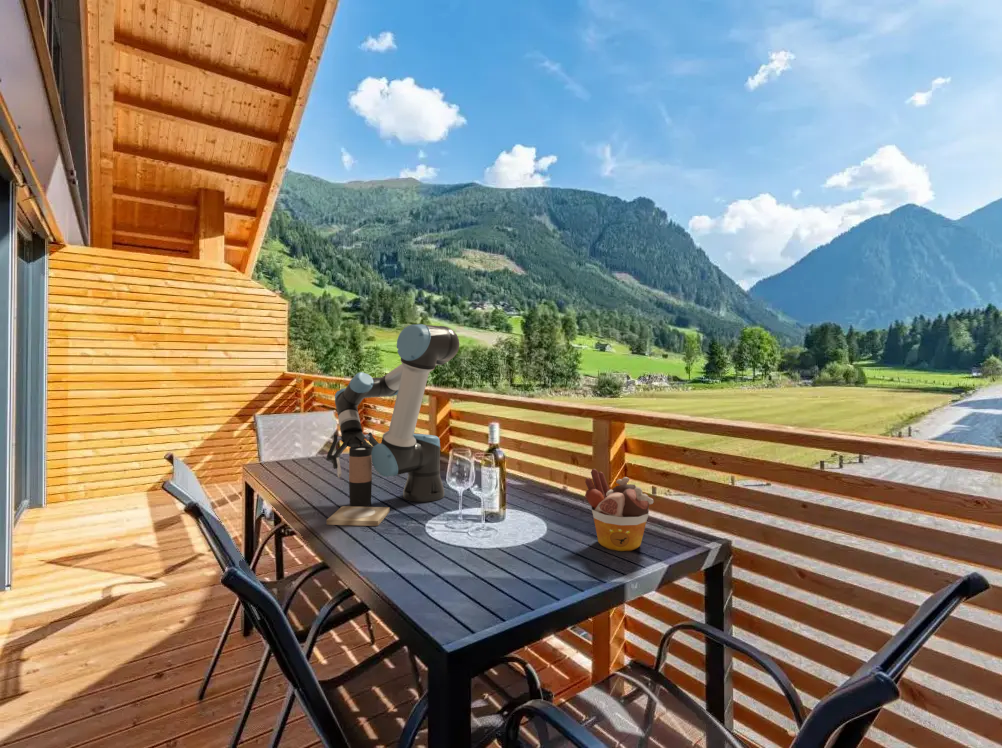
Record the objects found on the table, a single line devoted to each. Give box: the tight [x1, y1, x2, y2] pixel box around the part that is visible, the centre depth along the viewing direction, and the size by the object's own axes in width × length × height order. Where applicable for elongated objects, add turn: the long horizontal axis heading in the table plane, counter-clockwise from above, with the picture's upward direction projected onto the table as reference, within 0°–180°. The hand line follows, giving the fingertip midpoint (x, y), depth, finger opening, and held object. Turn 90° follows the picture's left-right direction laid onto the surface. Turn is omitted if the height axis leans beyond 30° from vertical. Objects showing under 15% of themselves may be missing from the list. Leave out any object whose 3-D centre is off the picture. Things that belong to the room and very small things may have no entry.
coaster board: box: [326, 505, 390, 527], centre depth 163 cm, size 16×14×2 cm
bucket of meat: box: [584, 468, 654, 552], centre depth 143 cm, size 20×16×20 cm
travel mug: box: [348, 446, 373, 507], centre depth 177 cm, size 8×8×20 cm
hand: (360, 473), depth 176 cm, fingers open, 13 cm apart
